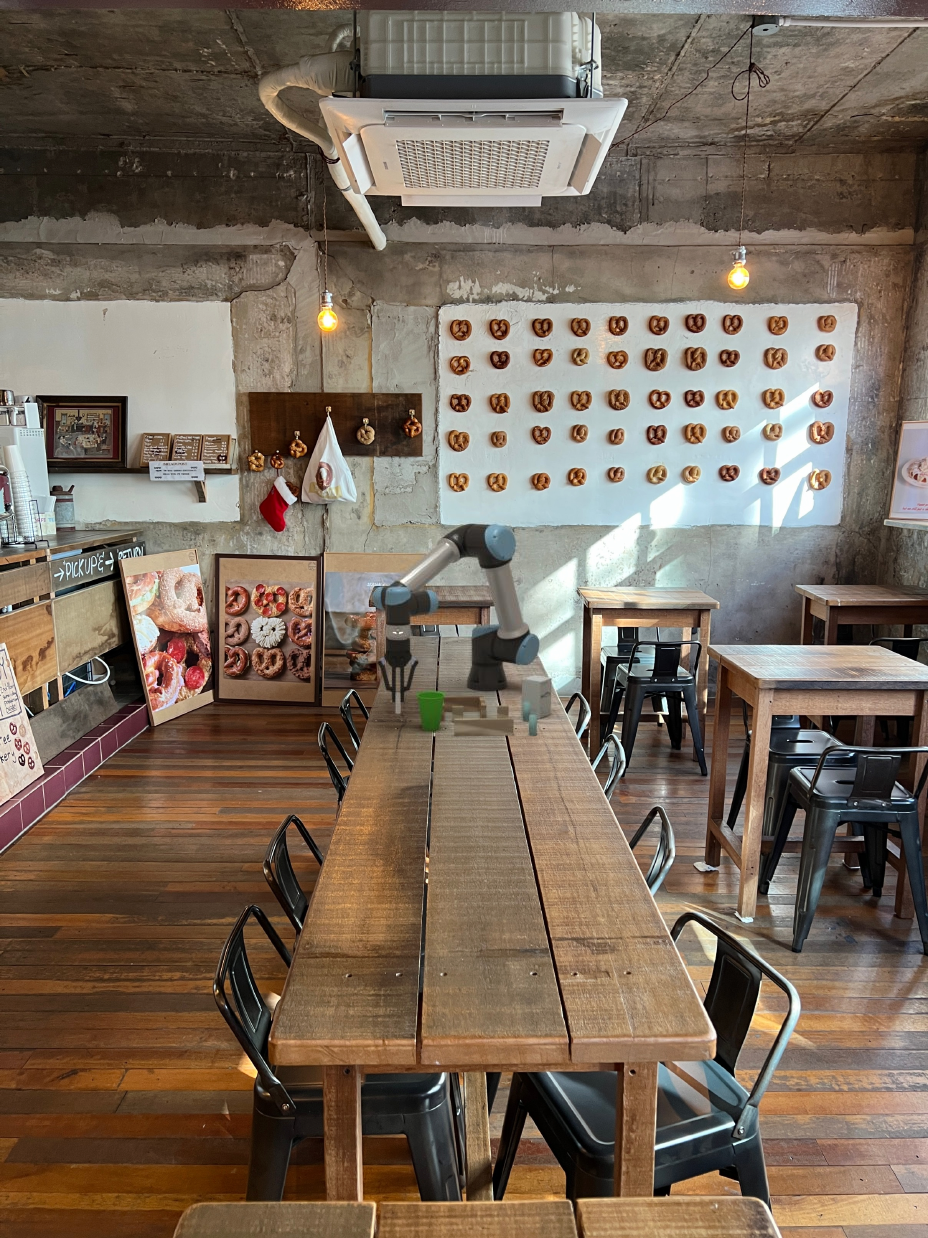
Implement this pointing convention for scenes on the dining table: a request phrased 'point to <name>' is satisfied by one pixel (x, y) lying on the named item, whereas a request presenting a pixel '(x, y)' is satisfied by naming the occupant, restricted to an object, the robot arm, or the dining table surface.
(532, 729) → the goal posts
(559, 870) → the dining table surface
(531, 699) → the supplement box
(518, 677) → the dining table surface
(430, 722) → the cup
